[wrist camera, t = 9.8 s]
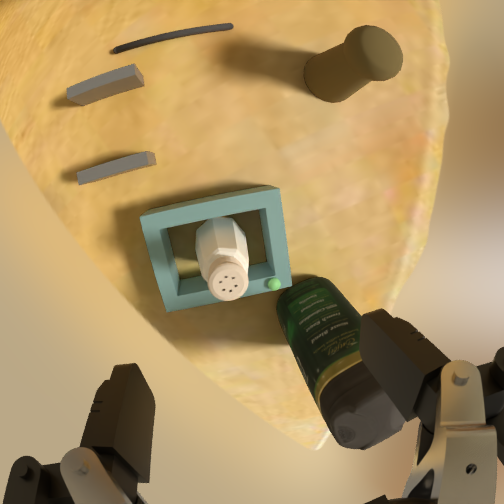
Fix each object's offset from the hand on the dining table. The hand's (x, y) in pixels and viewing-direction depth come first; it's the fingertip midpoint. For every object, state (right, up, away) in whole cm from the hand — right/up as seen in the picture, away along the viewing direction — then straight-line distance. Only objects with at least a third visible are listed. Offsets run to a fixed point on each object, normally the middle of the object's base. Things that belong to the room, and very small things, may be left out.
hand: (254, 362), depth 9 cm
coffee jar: (+7, -4, +25) cm, 26 cm away
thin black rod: (-8, +26, +13) cm, 30 cm away
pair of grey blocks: (-14, +16, +15) cm, 26 cm away
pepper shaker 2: (+8, +23, +17) cm, 29 cm away
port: (-4, +5, +20) cm, 21 cm away
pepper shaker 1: (-3, +5, +20) cm, 21 cm away
